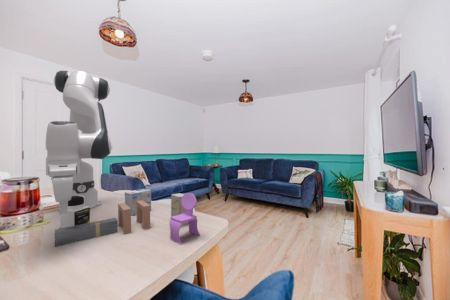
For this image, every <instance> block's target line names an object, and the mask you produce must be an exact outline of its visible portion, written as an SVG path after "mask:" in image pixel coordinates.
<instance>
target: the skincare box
mask: <svg viewBox="0 0 450 300" xmlns="http://www.w3.org/2000/svg"><path fill="white" fill-rule="evenodd" d="M185 194H186V193H180V192H179V193H173V194H172V193H171V195H170V196H171V197H170V201H171V202H170V204H171V206H170V207H171V208H170V218H171V217H172V216H176V215H180V214H182V213H186V209H185V208H184V207H183V206H182V202H181V199H182V196H183V195H185ZM186 225H188V222H186V223H184V224H182V225H181V227H183V226H186Z"/></svg>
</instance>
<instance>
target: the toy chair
mask: <svg viewBox="0 0 450 300" xmlns="http://www.w3.org/2000/svg"><path fill="white" fill-rule="evenodd" d="M184 194H185V195H183V196H182V199H181V202H182V206H183V207H184V208H185V209H186V213H182V214H180V215H176V216H172V217H171V216H170V220H169V233H170V234H169V235H170V237H169V238H170V240H172V241H174V242H177V243H178V244H181V245H182V244H183V243H182V241H181V238H180V235H179V234H180V230H181V228H182V226H181V225H182V224H184V223H186V222H187V225H188V232H189V233H191V234H194V235H196V236H199V237H200V236H201V234H200V232H199V229H198V221H199V220H198V219H197V216H198V215H194V208H196V206H197V205H198V202H197V198H196V196H195V194H194V193H190V192H187V193H184Z"/></svg>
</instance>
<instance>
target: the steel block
mask: <svg viewBox="0 0 450 300" xmlns="http://www.w3.org/2000/svg"><path fill="white" fill-rule="evenodd" d="M118 227H119V226H118V218H116V217H113V218H107V219H102V220H95V221H90V223H85V224H80V225H75V226H70V227H65V228H61V227H59V228H56V229H54V247H55V248H56V247H60V246H65V245H69V244H73V243H77V242H82V241H87V240H91V239H94V238H95V239H96V238H99V237H104V236H108V235H112V234H117V233H118V232H119V231H118V229H119V228H118Z"/></svg>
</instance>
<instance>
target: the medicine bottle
mask: <svg viewBox="0 0 450 300" xmlns="http://www.w3.org/2000/svg"><path fill="white" fill-rule="evenodd" d="M84 205H85V204H84V196H81V195H78V196H71V200H69V201H68V207H67V214H60V213H59V217H60V219H59V220H60V221H59V222H60V224H59V225H60V227H59V228H65V227H70V226H75V225H80V224H85V223H91V208H90V206H84Z"/></svg>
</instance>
